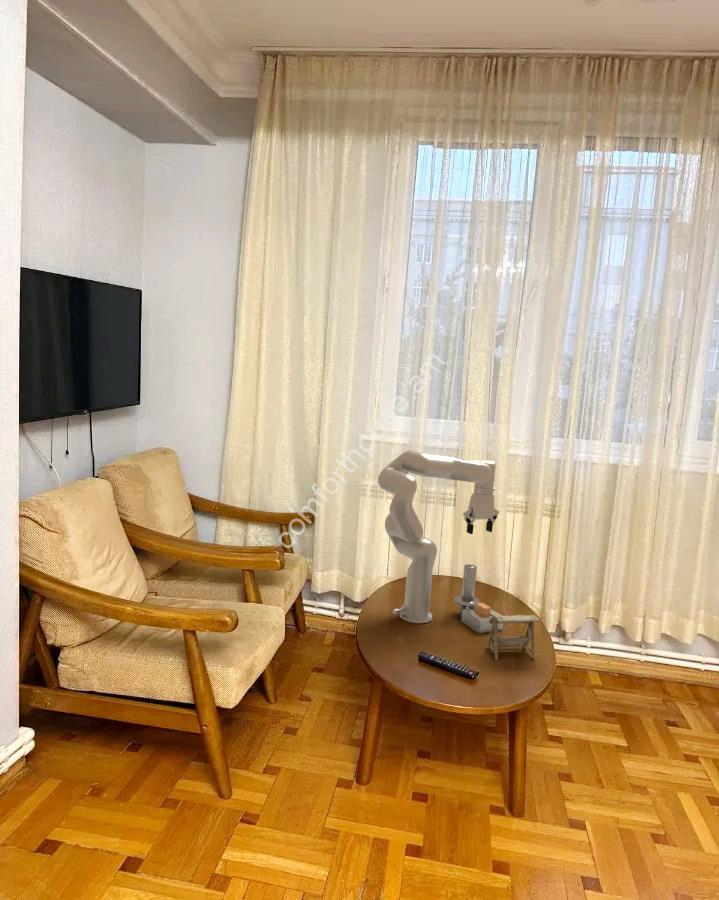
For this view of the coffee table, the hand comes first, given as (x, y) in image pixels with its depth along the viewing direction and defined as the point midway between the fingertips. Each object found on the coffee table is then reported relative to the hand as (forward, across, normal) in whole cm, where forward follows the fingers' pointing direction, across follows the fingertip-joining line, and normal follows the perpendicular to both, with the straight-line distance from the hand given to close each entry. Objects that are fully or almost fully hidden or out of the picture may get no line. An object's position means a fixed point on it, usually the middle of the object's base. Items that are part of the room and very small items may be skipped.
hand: (479, 532), depth 275 cm
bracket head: (+30, +10, +14) cm, 35 cm away
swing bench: (+31, +16, +42) cm, 54 cm away
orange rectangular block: (+30, +10, +19) cm, 37 cm away
